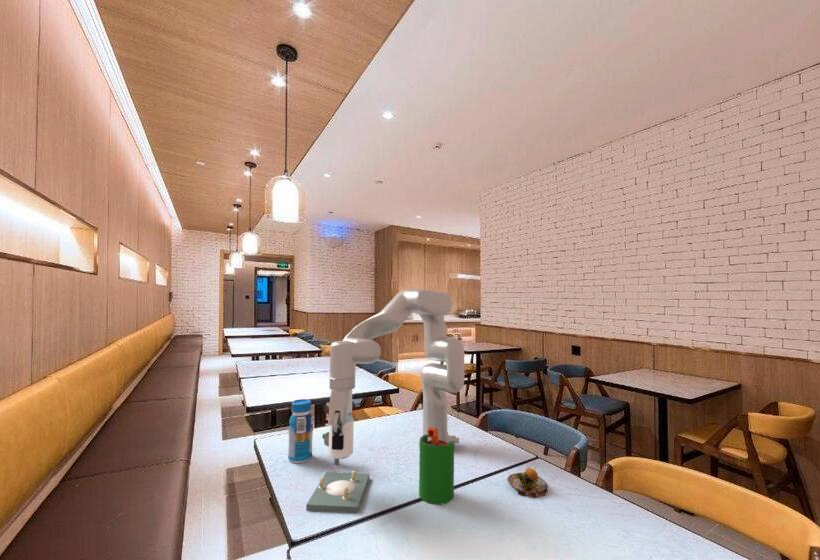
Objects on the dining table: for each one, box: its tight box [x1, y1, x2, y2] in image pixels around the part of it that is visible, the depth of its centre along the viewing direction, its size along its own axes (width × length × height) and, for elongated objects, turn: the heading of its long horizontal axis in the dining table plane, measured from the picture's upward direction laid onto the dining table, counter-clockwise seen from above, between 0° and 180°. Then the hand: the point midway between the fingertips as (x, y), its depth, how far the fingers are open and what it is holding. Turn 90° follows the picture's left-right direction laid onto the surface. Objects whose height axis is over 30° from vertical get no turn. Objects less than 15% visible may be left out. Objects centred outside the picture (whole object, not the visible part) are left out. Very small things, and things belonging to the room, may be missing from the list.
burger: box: [506, 466, 549, 499], centre depth 109 cm, size 12×12×8 cm
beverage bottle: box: [287, 398, 314, 464], centre depth 128 cm, size 8×8×20 cm
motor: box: [418, 427, 455, 505], centre depth 105 cm, size 10×9×20 cm
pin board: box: [305, 470, 370, 513], centre depth 105 cm, size 14×18×4 cm
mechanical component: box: [322, 431, 340, 466], centre depth 123 cm, size 3×10×10 cm, turn 79°
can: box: [328, 412, 355, 460], centre depth 106 cm, size 7×7×12 cm
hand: (341, 443), depth 105 cm, fingers closed on can, 7 cm apart
